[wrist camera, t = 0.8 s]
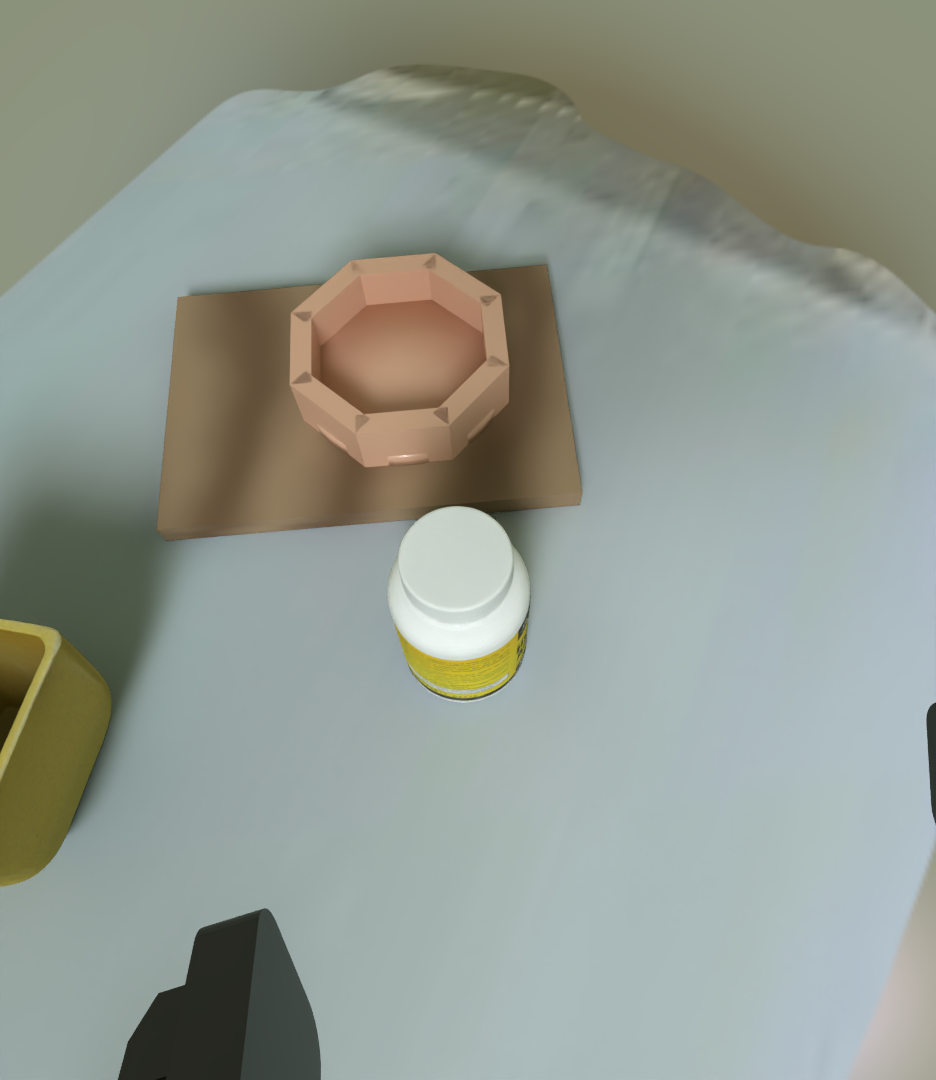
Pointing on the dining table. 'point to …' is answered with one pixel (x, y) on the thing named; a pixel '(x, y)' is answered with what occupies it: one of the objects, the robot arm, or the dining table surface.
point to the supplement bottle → (460, 604)
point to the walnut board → (318, 466)
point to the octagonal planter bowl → (400, 359)
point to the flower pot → (44, 742)
